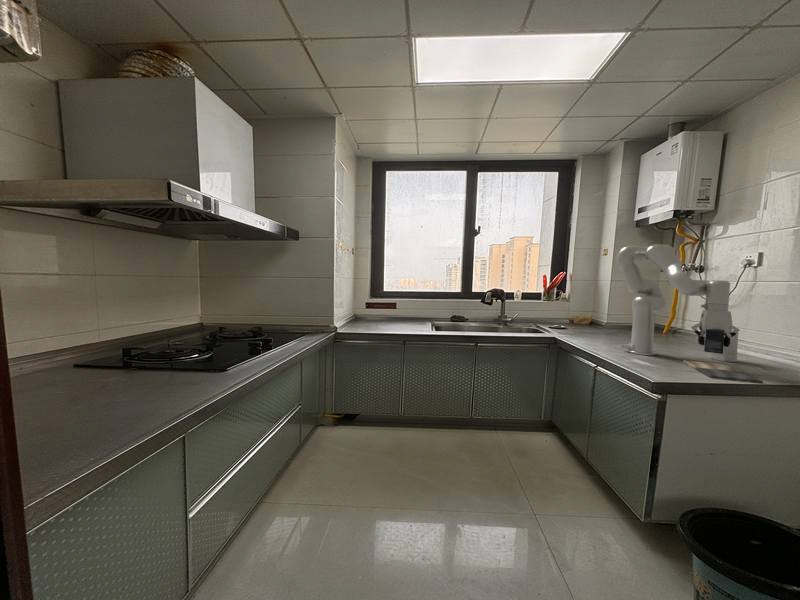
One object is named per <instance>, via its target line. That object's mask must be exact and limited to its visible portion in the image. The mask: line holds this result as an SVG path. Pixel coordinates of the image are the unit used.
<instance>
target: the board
mask: <svg viewBox="0 0 800 600" xmlns="http://www.w3.org/2000/svg"><path fill="white" fill-rule="evenodd" d="M683 362H684V363H683ZM682 363H683V364H684V365H687V366H688V365H689V367H690V366H691V367H690V368H692V367H693V368H692V369H694V370H696V371H697V370H698V373H701V374H702V375H705V376H707V377H708V378H710V379H719V380H726V379H727V380H728V381H736V380H739V381H738V382H745V381H752V382H751V383H755V382H763V380H762V379H759V378H757V377H755V376H753V375H750V374H748V373H746V372H744V371H742V370H739V369H737V368H735V367H733V366H731V365H728V364H725V363H715V362H707V361H706V362H705V361H704V362H703V361H693V360H685V359H684V360H682ZM727 380H726V381H727Z"/></svg>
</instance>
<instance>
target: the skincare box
mask: <svg viewBox="0 0 800 600" xmlns="http://www.w3.org/2000/svg"><path fill="white" fill-rule="evenodd" d="M732 331H733V329H732ZM724 337H725V335H724ZM738 343H739V332H738V333H736V335H735V336H733V337H732V338H730V345H729V347H725V346H724V347H723V354H719V353H711V352H709V359H712V358H713V359H712V360H716V361H721V362H725V363H726V362H727V363H737V362H738V348H739V347H738Z"/></svg>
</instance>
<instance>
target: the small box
mask: <svg viewBox="0 0 800 600" xmlns="http://www.w3.org/2000/svg"><path fill="white" fill-rule="evenodd" d="M724 333H725V331H724V330H719V329H706V331H705V335H704V336H703V337H705V338H704V345H703V351H704V352H705V353H710V352H711V353H719V354H723V347H724Z"/></svg>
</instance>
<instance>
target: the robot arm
mask: <svg viewBox="0 0 800 600" xmlns="http://www.w3.org/2000/svg"><path fill="white" fill-rule="evenodd" d="M635 262H652V263H653V264H655V265H656V266H657V267H658V268H659V269H660V270H661V271H662V272H663V273H664V274H665V277H666V279H667V281H668V282H669V283H670V285H671V286H672V287H674V288H675V289H676V290H677V291H678V292H679V293H681V294H683V295H685V296H688V297H691V296H692V297H694V296H695V297H702V296H703V297H704V296H705V303H704V304H701V305H700V306H701V308H704V309H703V310H702V312H701V315H700V320H699V322H698V323H696V324H694V325H692V326H691V327H690V329H692V330H693V332H694V334H696V335H697V336H698V338H697V343H698V344H699V345H700V346H704V338H705V337H704V335H705V331H706V329H719V330H724V331H725V333H724V335H725V337H724V346H725V347H729V345H730V338H732V337H733V336H735V335H736V333H738V334H739V332H740V331H741V330H740V328H738V327H736V326H734V325H733V316H732V313H731V311H730V310H729V302H730V293H731V292H730V290H731V283H730V281H728V280H704V279H703V280H702V279H693V278H691V277H690V276H689V275H688V274H687V273H686V272H685V271H684V270H683V269H682V267H683V265H684V263H683V261H682V260H681V259H680V258H678V257H677V255H676V250H675V248H674V247H673V246H672V245H669V244H658V243H655V244H652V245H649V246H643V245H641V246H640V245H628V246H624V247H622V248H621V249H620V250H619V251H618V253H617V256H616V265H617V267H618V269H619V271H620V273H621V276H622V278H623V280H624V281H623V282H624V283H625V286H626V288H627V290H628V292H629V293H630V294H632V295H639V296H636V297H635V298H634V299H633V300H632V301H631V302H632V303H631V311H632V325H631V326H632V327H631V338H630V339H631V341H630V342H629V343H627V344H625V343H620V348H624V349H626V351H627V352H628V353H630V354H631V353H632V354H635V355H640V356H655V355H657V352H656V351H654V350H653V347H654V346H653V345H654V333H655V316H654V313H659V312H661V311H664V310H665V308H666V300H665V297H664V295H663V293H662V291H661V289H660V287H659V286H660V285H659V284H658V283H657V281H656V280H654V279H653V278H650V277H644V276H643V273H642V271H641V269H640V268H639V266H638V265H637V263H635ZM698 329H699V330H698ZM732 330H733V331H732Z"/></svg>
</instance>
